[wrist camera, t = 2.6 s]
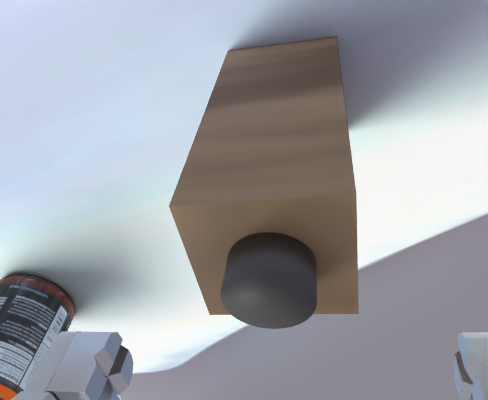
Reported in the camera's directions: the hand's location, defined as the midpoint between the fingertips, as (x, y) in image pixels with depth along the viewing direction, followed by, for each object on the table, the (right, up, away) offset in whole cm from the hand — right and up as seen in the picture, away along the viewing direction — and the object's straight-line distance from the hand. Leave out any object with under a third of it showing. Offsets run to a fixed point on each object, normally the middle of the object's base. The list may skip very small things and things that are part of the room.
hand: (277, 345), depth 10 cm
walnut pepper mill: (+1, +8, +9) cm, 12 cm away
